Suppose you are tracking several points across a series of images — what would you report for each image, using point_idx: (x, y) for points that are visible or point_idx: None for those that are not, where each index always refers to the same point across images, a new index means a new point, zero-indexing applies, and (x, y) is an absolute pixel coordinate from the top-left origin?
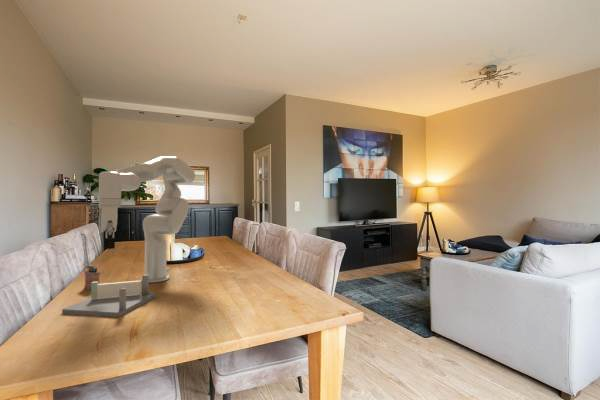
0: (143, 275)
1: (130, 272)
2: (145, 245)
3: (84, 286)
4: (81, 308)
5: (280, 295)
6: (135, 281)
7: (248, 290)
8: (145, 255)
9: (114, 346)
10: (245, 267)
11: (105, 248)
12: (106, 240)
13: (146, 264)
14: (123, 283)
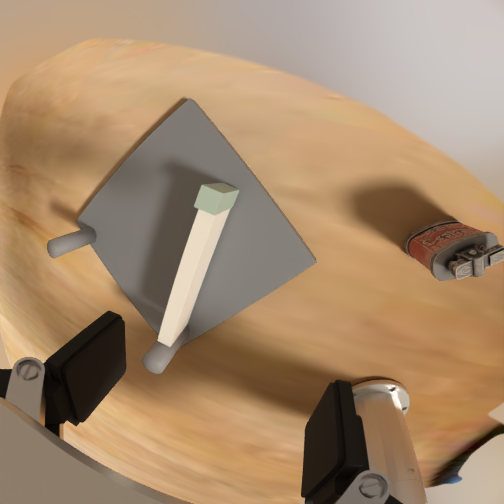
0: (155, 361)
1: (494, 372)
2: (399, 491)
3: (459, 221)
4: (157, 145)
5: (87, 435)
6: (164, 329)
7: (126, 442)
8: (392, 457)
9: (8, 186)
10: None
11: (109, 314)
12: (62, 359)
13: (377, 431)
14: (171, 293)
